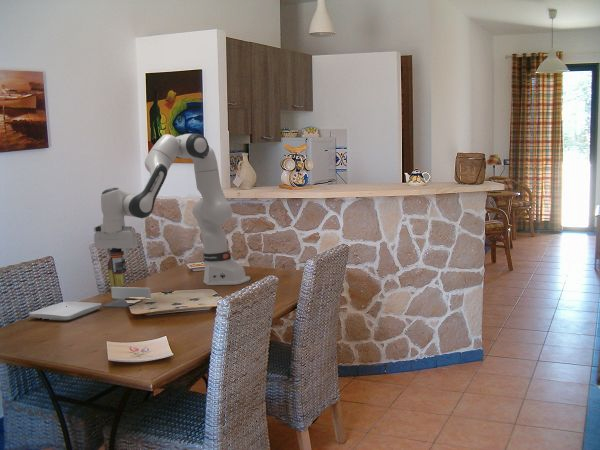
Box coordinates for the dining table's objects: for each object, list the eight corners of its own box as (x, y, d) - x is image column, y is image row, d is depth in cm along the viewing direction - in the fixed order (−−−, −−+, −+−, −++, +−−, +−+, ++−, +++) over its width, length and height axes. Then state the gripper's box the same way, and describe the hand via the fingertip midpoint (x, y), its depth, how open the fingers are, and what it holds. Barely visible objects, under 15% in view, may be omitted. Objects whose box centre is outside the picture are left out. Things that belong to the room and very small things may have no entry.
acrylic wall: (151, 298, 318) (149, 287, 317) (149, 299, 316) (148, 288, 316) (113, 297, 326) (112, 286, 325) (112, 298, 325) (110, 287, 324)
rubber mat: (142, 300, 315) (142, 299, 315) (125, 307, 304) (125, 306, 304) (119, 300, 320) (119, 298, 320) (102, 306, 309) (102, 305, 309)
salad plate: (104, 310, 304) (103, 302, 304) (68, 323, 285) (67, 315, 285) (65, 308, 313) (64, 300, 313) (28, 321, 294) (27, 313, 294)
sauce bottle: (126, 288, 345) (122, 247, 342) (122, 291, 339) (117, 249, 336) (113, 289, 346) (108, 247, 343) (108, 291, 340) (103, 250, 337)
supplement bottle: (113, 272, 313) (110, 246, 312) (127, 271, 314) (124, 245, 312) (110, 275, 307) (108, 248, 306) (125, 273, 308) (122, 247, 306)
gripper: (139, 225, 307) (142, 257, 308) (100, 225, 315) (103, 257, 317) (129, 227, 301) (133, 260, 303) (90, 228, 309) (94, 260, 311)
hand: (117, 258), depth 310 cm, fingers closed on supplement bottle, 6 cm apart
